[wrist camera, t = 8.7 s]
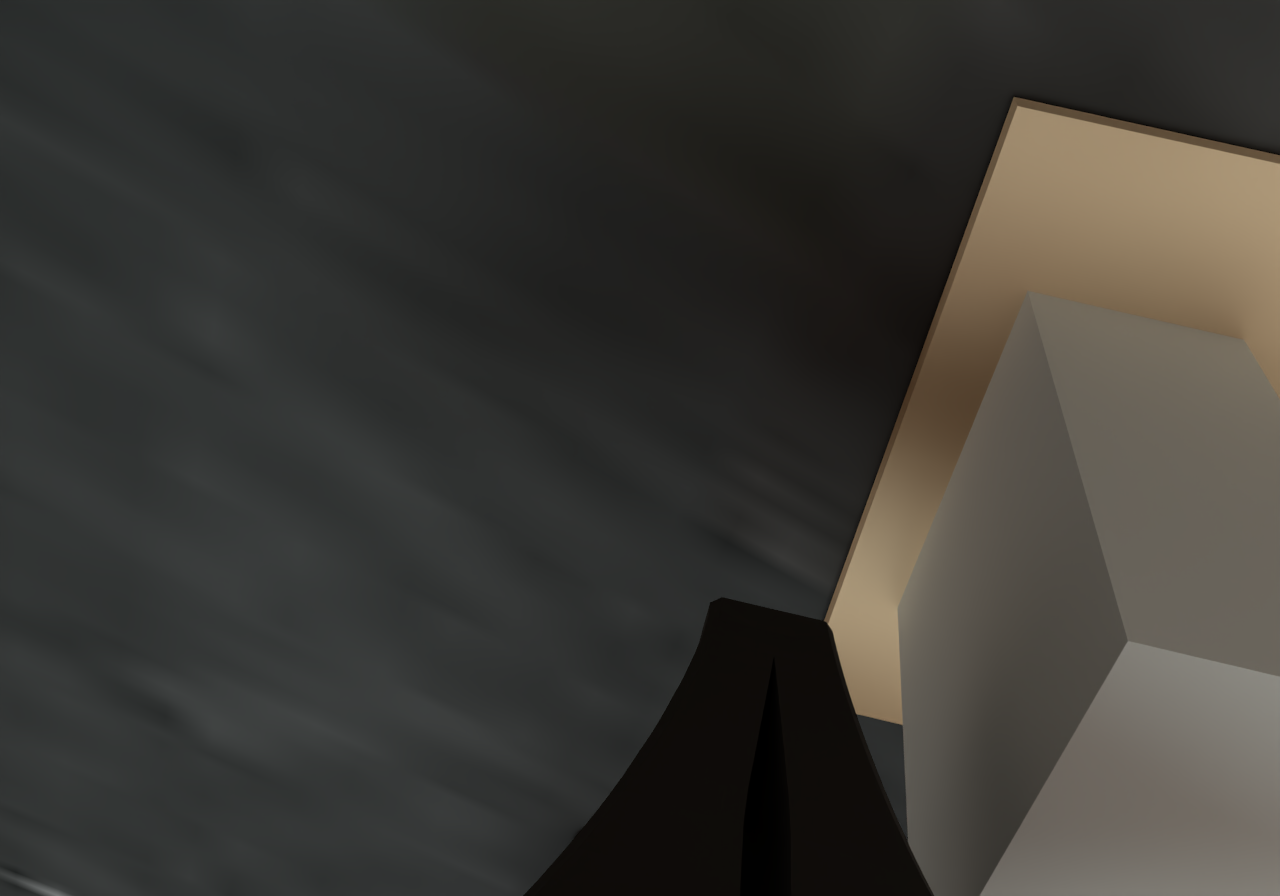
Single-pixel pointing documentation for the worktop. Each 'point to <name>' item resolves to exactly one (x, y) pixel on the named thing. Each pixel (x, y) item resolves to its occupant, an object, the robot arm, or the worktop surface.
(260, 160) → the worktop surface
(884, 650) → the board
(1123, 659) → the slab
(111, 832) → the worktop surface
